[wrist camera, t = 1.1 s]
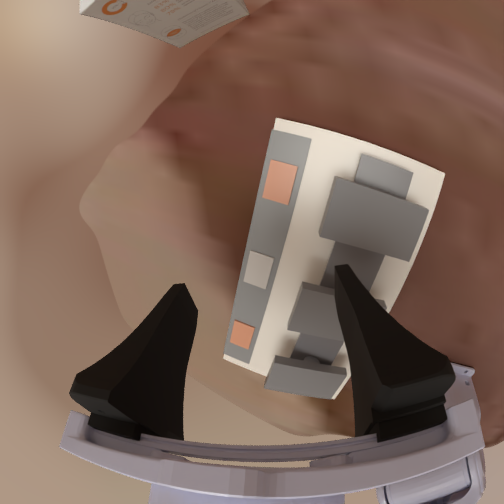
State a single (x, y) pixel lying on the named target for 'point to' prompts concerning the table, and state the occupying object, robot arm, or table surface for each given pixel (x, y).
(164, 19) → the small box
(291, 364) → the switch
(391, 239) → the switch
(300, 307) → the switch
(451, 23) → the table surface
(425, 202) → the switch panel
